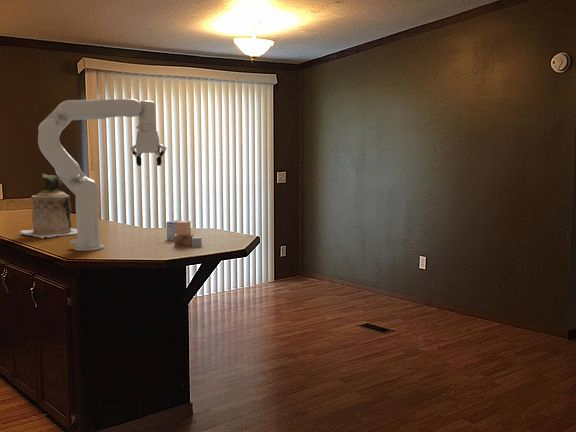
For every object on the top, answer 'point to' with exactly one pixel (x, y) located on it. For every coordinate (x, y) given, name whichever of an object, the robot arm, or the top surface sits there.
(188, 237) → the walnut block
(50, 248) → the top surface
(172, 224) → the medicine box
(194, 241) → the slate block
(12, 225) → the top surface
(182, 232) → the terracotta block
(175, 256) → the top surface
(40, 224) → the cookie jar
